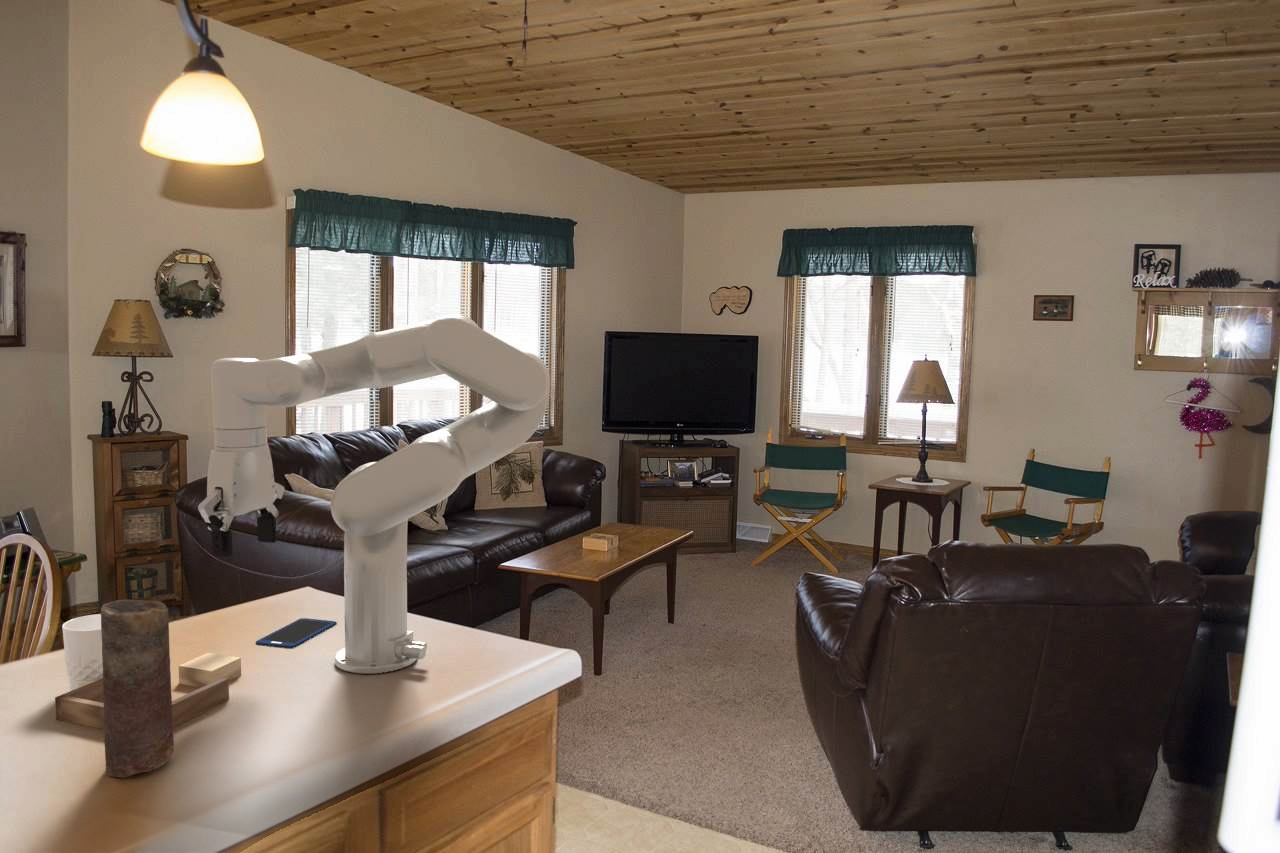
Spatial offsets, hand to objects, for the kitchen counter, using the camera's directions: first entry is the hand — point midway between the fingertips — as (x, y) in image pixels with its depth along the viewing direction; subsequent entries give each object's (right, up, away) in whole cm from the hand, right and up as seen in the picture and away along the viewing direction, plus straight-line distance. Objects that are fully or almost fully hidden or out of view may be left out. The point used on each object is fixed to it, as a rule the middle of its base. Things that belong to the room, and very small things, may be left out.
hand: (245, 548), depth 149 cm
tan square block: (-3, -19, -5) cm, 20 cm away
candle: (+1, -22, -33) cm, 40 cm away
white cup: (-17, -19, -10) cm, 28 cm away
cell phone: (+2, -17, +16) cm, 24 cm away
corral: (-7, -20, -17) cm, 27 cm away
